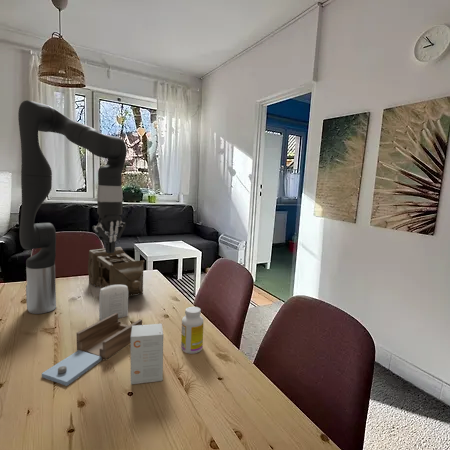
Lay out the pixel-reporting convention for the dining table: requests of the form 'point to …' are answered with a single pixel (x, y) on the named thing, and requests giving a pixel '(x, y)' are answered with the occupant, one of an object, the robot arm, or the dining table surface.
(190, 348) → the supplement bottle
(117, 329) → the box
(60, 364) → the lid
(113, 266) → the ornamental box
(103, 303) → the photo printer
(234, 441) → the dining table surface
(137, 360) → the small box
